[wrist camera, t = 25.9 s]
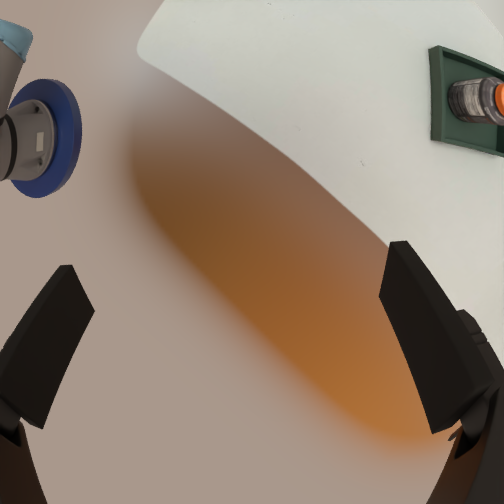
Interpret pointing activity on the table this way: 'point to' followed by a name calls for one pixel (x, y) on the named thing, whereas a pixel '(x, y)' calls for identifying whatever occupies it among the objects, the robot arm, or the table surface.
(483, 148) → the tray
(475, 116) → the pill bottle
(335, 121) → the table surface
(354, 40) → the table surface
